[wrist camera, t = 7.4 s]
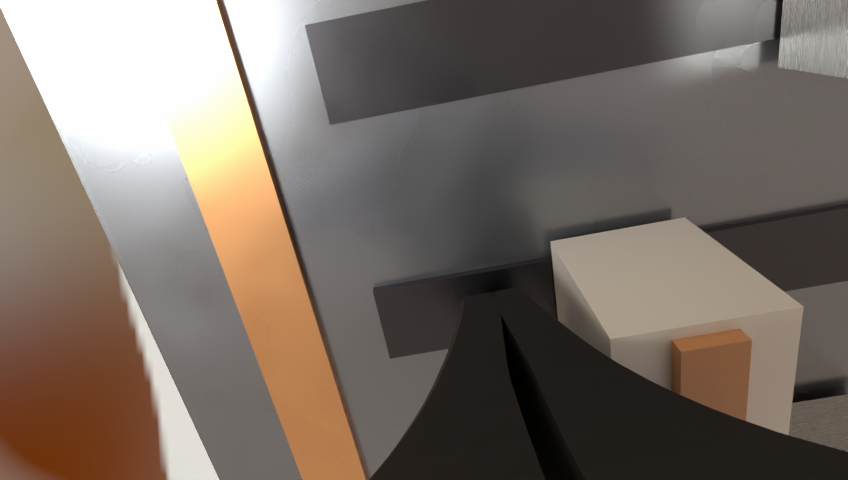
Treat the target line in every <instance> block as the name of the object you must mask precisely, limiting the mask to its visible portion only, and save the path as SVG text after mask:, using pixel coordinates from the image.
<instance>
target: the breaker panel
mask: <svg viewBox="0 0 848 480" xmlns="http://www.w3.org/2000/svg"><path fill="white" fill-rule="evenodd" d="M0 7H1V9H2V11H3V14H4V16H5V18H6V20H7V22H8V24H9V26H10V29H11V31H12V33H13V35H14V37H15V39H16V42H17V44H18V46H19V48H20V50H21V52H22V54H23V57H24V59H25V61H26V63H27V65H28V67H29V69H30V72H31V74H32V76H33V78H34V80H35V82H36V85H37V87H38V89H39V91H40V93H41V95H42V98H43V100H44V102H45V104H46V106H47V108H48V110H49V113H50V115H51V117H52V119H53V121H54V124H55V126H56V128H57V130H58V132H59V134H60V136H61V139H62V141H63V143H64V145H65V147H66V149H67V152H68V154H69V156H70V158H71V160H72V162H73V165H74V167H75V169H76V171H77V173H78V175H79V177H80V180H81V182H82V184H83V186H84V188H85V190H86V193H87V195H88V197H89V199H90V201H91V203H92V205H93V207H94V210H95V212H96V214H97V216H98V218H99V221H100V223H101V225H102V227H103V229H104V231H105V233H106V236H107V238H108V240H109V242H110V244H111V246H112V249H113V251H114V253H115V255H116V257H117V259H118V262H119V264H120V266H121V268H122V270H123V272H124V275H125V277H126V279H127V281H128V283H129V285H130V287H131V290H132V292H133V294H134V296H135V298H136V300H137V303H138V305H139V307H140V309H141V311H142V313H143V316H144V318H145V320H146V322H147V324H148V326H149V328H150V331H151V333H152V335H153V337H154V339H155V341H156V344H157V346H158V348H159V350H160V352H161V354H162V356H163V359H164V361H165V363H166V365H167V367H168V369H169V372H170V374H171V376H172V378H173V380H174V382H175V385H176V387H177V389H178V391H179V393H180V395H181V397H182V400H183V402H184V404H185V406H186V408H187V410H188V413H189V415H190V417H191V419H192V421H193V423H194V426H195V428H196V430H197V432H198V434H199V436H200V438H201V441H202V443H203V445H204V447H205V449H206V451H207V454H208V456H209V458H210V460H211V462H212V464H213V466H214V469H215V471H216V473H217V475H218V477H219V479H220V480H369V479H370V478H371V476H372V475H373V474H374V473H375V472H376V471H377V469H378V468H379V467H380V466H381V465H382V464H383V462H384V461H385V460H386V459H387V457H388V456H389V455H390V453H391V452H392V451H393V449H394V448H395V447H396V445H397V444H398V442H399V441H400V439H401V438H402V436H403V435H404V434H405V432H406V431H407V429H408V428H409V426H410V425H411V423H412V422H413V420H414V419H415V417H416V415H417V414H418V412H419V410H420V408H421V407H422V405H423V403H424V402H425V400H426V398H427V396H428V394H429V392H430V390H431V388H432V386H433V384H434V382H435V380H436V378H437V376H438V373H439V371H440V369H441V367H442V364H443V362H444V360H445V357H446V355H447V352H448V349H449V346H450V343H451V340H452V338H453V335H454V331H455V328H456V324H457V320H458V315H459V308H460V301H461V300H462V299H463V298H464V297H465V296H471V295H477V294H482V293H488V292H493V291H499V290H505V289H510V288H516V287H521V288H522V289H523V290H525V291H526V292H527V293H528V294H529V295H530V296H531V297H532V298H533V299H534V300H536V301H537V302H538V303H539V304H540V305H541V306H542V307H543V308H544V309H546V310H547V311H548V312H549V313H550V314H551V315H552V316H554V317H555V318H556V319H557V320H558V315H557V304H556V294H555V284H554V274H553V264H552V253H551V243H550V241H555V240H561V239H566V238H572V237H577V236H583V235H589V234H594V233H600V232H605V231H611V230H617V229H622V228H628V227H633V226H639V225H645V224H650V223H656V222H661V221H667V220H673V219H678V218H684V217H685V218H686V219H688V220H689V221H690V222H692V223H693V224H694V225H696V226H697V227H698V228H700V229H701V230H702V231H704V232H705V233H706V234H708V235H709V236H710V237H712V238H713V239H714V240H716V241H717V242H718V243H720V244H721V245H722V246H724V247H725V248H726V249H728V250H729V251H730V252H732V253H733V254H734V255H736V256H737V257H738V258H740V259H741V260H742V261H744V262H745V263H746V264H748V265H749V266H750V267H752V268H753V269H754V270H756V271H757V272H758V273H760V274H761V275H762V276H764V277H765V278H766V279H768V280H769V281H770V282H772V283H773V284H774V285H776V286H777V287H778V288H780V289H781V290H782V291H784V292H785V293H786V294H788V295H789V296H790V297H792V298H793V299H794V300H796V301H797V302H798V303H800V304H801V305H802V306H804V307H803V316H802V324H801V333H800V341H799V350H798V358H797V367H796V375H795V383H794V392H793V400H792V409H791V417H790V426H789V434H788V435H789V436H793V437H796V438H800V439H803V440H807V441H811V442H814V443H818V444H821V445H825V446H829V447H832V448H836V449H839V450H843V451H847V452H848V0H0Z"/></svg>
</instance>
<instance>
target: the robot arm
mask: <svg viewBox="0 0 848 480" xmlns="http://www.w3.org/2000/svg"><path fill="white" fill-rule="evenodd" d="M369 480H848V452H847V451H843V450H839V449H836V448H832V447H829V446H825V445H821V444H818V443H814V442H811V441H807V440H803V439H800V438H796V437H793V436H789V435H786V434H783V433H779V432H776V431H773V430H770V429H767V428H765V427H762V426H759V425H756V424H753V423H750V422H747V421H744V420H741V419H739V418H736V417H733V416H730V415H728V414H725V413H723V412H720V411H717V410H715V409H712V408H710V407H707V406H705V405H702V404H700V403H698V402H695V401H693V400H691V399H689V398H686V397H684V396H682V395H680V394H677V393H675V392H673V391H670V390H668V389H666V388H664V387H662V386H660V385H658V384H656V383H654V382H652V381H650V380H648V379H646V378H644V377H643V376H641V375H639V374H637V373H635V372H633V371H632V370H630V369H628V368H626V367H624V366H622V365H621V364H619V363H617V362H616V361H614V360H612V359H611V358H609V357H608V356H606V355H605V354H603V353H602V352H600V351H599V350H597V349H596V348H594V347H593V346H591V345H590V344H588V343H587V342H586V341H584V340H583V339H582V338H580V337H579V336H578V335H576V334H575V333H574V332H572V331H571V330H570V329H569V328H567V327H566V326H565V325H563V324H562V323H561V322H560V321H558V320H557V319H556V318H555V317H554V316H552V315H551V314H550V313H549V312H548V311H547V310H546V309H544V308H543V307H542V306H541V305H540V304H539V303H538V302H537V301H536V300H534V299H533V298H532V297H531V296H530V295H529V294H528V293H527V292H526V291H525V290H523V289H522V288H521V287H516V288H510V289H505V290H499V291H493V292H488V293H482V294H477V295H471V296H465V297H464V298H463V299H462V300H461V301H460V308H459V315H458V320H457V324H456V328H455V331H454V335H453V338H452V340H451V343H450V346H449V349H448V352H447V355H446V357H445V360H444V362H443V364H442V367H441V369H440V371H439V373H438V376H437V378H436V380H435V382H434V384H433V386H432V388H431V390H430V392H429V394H428V396H427V398H426V400H425V402H424V403H423V405H422V407H421V408H420V410H419V412H418V414H417V415H416V417H415V419H414V420H413V422H412V423H411V425H410V426H409V428H408V429H407V431H406V432H405V434H404V435H403V436H402V438H401V439H400V441H399V442H398V444H397V445H396V447H395V448H394V449H393V451H392V452H391V453H390V455H389V456H388V457H387V459H386V460H385V461H384V462H383V464H382V465H381V466H380V467H379V468H378V469H377V471H376V472H375V473H374V474H373V475H372V476H371V478H370V479H369Z"/></svg>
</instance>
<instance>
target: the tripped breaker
mask: <svg viewBox="0 0 848 480" xmlns="http://www.w3.org/2000/svg"><path fill="white" fill-rule="evenodd" d="M550 243H551V253H552V264H553V274H554V284H555V294H556V304H557V315H558V321H560V322H561V323H562V324H563V325H565V326H566V327H567V328H569V329H570V330H571V331H572V332H574V333H575V334H576V335H578V336H579V337H580V338H582V339H583V340H584V341H586V342H587V343H588V344H590V345H591V346H593V347H594V348H596V349H597V350H599V351H600V352H602V353H603V354H605V355H606V356H608V357H609V358H611V359H612V360H614V361H616V362H617V363H619V364H621V365H622V366H624V367H626V368H628V369H630V370H632V371H633V372H635V373H637V374H639V375H641V376H643V377H644V378H646V379H648V380H650V381H652V382H654V383H656V384H658V385H660V386H662V387H664V388H666V389H668V390H670V391H673V392H675V393H677V394H680V395H682V396H684V397H686V398H689V399H691V400H693V401H695V402H698V403H700V404H702V405H705V406H707V407H710V408H712V409H715V410H717V411H720V412H723V413H725V414H728V415H730V416H733V417H736V418H739V419H741V420H744V421H747V422H750V423H753V424H756V425H759V426H762V427H765V428H767V429H770V430H773V431H776V432H779V433H783V434H786V435H788V434H789V426H790V417H791V409H792V400H793V392H794V383H795V375H796V367H797V358H798V350H799V341H800V333H801V324H802V316H803V307H804V306H802V305H801V304H800V303H798V302H797V301H796V300H794V299H793V298H792V297H790V296H789V295H788V294H786V293H785V292H784V291H782V290H781V289H780V288H778V287H777V286H776V285H774V284H773V283H772V282H770V281H769V280H768V279H766V278H765V277H764V276H762V275H761V274H760V273H758V272H757V271H756V270H754V269H753V268H752V267H750V266H749V265H748V264H746V263H745V262H744V261H742V260H741V259H740V258H738V257H737V256H736V255H734V254H733V253H732V252H730V251H729V250H728V249H726V248H725V247H724V246H722V245H721V244H720V243H718V242H717V241H716V240H714V239H713V238H712V237H710V236H709V235H708V234H706V233H705V232H704V231H702V230H701V229H700V228H698V227H697V226H696V225H694V224H693V223H692V222H690V221H689V220H688V219H686V218H685V217H684V218H678V219H673V220H667V221H661V222H656V223H650V224H645V225H639V226H633V227H628V228H622V229H617V230H611V231H605V232H600V233H594V234H589V235H583V236H577V237H572V238H566V239H561V240H555V241H550Z"/></svg>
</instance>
